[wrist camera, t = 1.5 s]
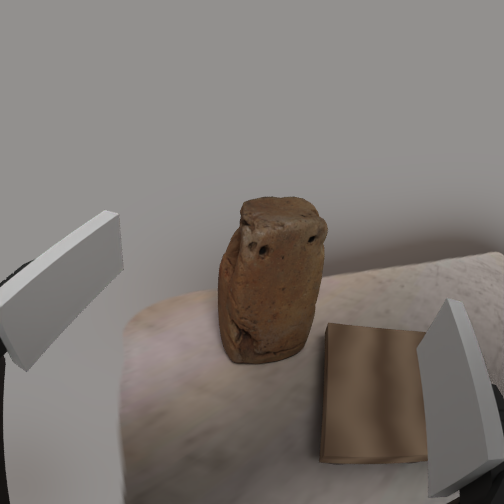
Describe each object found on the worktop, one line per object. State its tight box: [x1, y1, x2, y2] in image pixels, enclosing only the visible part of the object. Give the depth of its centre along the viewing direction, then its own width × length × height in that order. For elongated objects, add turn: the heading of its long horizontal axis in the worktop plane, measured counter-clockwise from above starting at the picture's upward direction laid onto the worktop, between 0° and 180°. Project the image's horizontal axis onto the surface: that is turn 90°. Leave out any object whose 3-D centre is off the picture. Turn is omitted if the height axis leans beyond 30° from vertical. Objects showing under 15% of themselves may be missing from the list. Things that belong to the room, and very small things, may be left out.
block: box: [218, 197, 328, 364], centre depth 36 cm, size 11×8×20 cm
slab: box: [319, 323, 428, 464], centre depth 31 cm, size 14×18×5 cm
